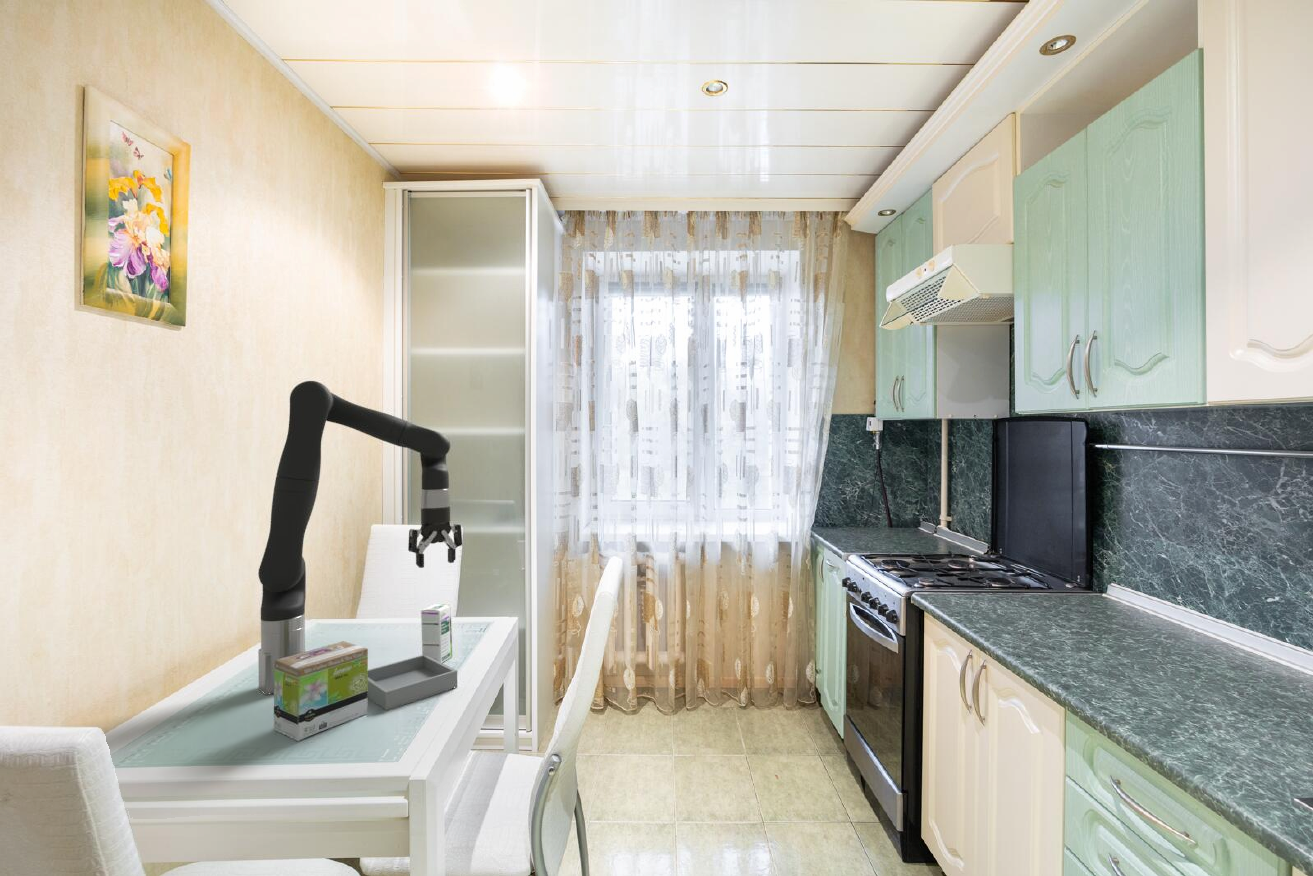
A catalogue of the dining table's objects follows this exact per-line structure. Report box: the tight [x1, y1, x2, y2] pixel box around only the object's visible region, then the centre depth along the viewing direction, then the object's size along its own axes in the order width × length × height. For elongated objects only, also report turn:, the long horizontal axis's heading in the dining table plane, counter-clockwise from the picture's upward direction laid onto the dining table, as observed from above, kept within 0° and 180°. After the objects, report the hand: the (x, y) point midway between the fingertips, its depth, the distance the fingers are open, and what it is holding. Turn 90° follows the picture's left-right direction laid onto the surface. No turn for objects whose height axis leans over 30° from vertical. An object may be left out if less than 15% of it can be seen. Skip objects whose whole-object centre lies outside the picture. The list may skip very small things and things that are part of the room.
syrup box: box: [420, 603, 453, 664], centre depth 166 cm, size 6×6×14 cm
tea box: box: [273, 640, 369, 742], centre depth 129 cm, size 15×10×15 cm
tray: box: [367, 654, 458, 711], centre depth 146 cm, size 17×17×4 cm
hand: (436, 565), depth 166 cm, fingers open, 8 cm apart
